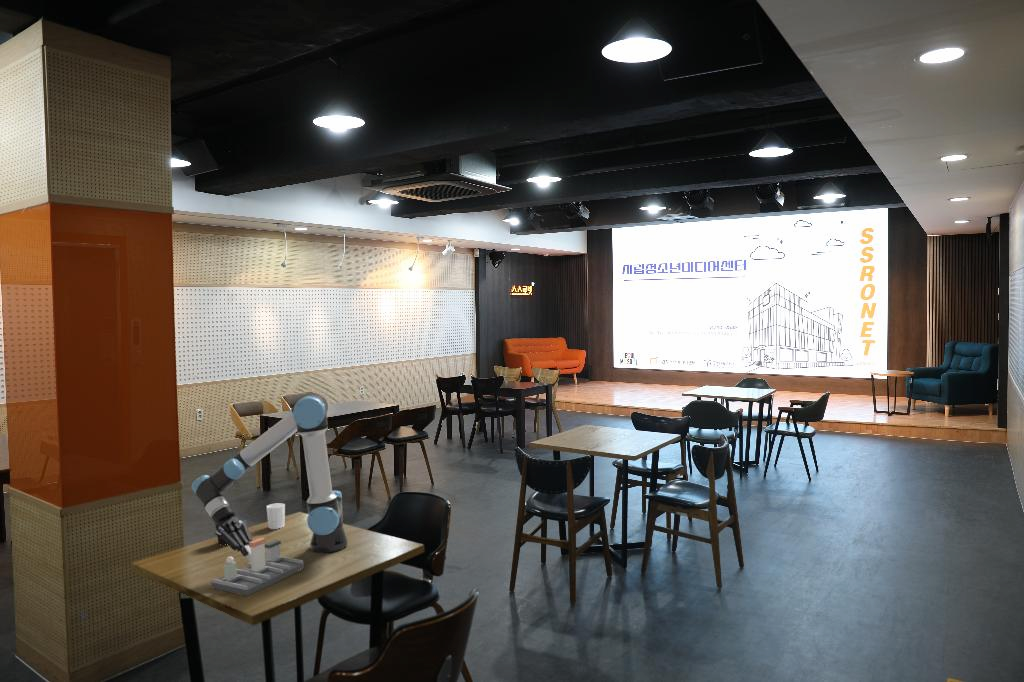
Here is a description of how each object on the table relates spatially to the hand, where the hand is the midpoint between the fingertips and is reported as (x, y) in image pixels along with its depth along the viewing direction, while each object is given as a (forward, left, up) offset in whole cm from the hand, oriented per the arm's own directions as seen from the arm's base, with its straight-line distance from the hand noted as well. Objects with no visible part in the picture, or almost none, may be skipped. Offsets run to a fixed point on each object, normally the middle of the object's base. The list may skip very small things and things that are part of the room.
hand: (253, 561), depth 254 cm
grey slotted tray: (-2, +1, -6) cm, 6 cm away
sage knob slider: (+6, +8, -4) cm, 11 cm away
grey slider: (-4, -9, -4) cm, 11 cm away
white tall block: (-2, +1, -4) cm, 4 cm away
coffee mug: (+24, -42, -6) cm, 49 cm away
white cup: (+9, -60, -6) cm, 61 cm away
